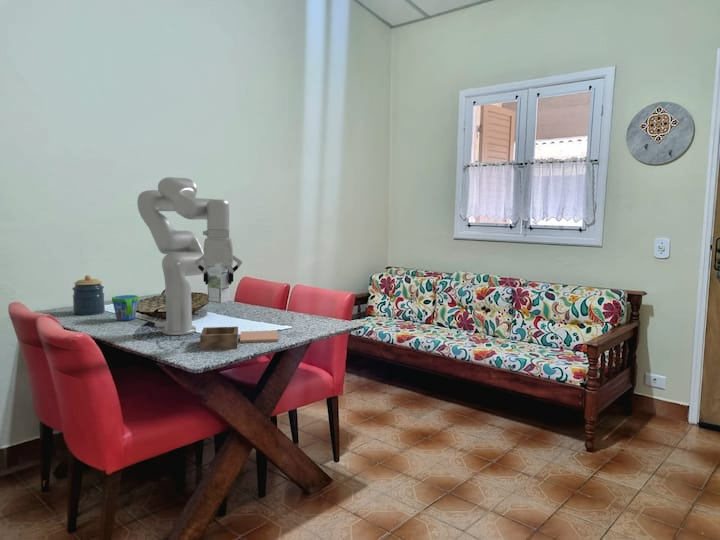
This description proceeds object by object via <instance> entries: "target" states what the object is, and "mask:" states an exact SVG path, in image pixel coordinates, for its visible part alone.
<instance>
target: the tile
mask: <svg viewBox="0 0 720 540" xmlns="http://www.w3.org/2000/svg"><path fill="white" fill-rule="evenodd" d="M241 342H242V343H241ZM245 342H253V343H273V342H274V343H275V342H279V334H278V330H275V329H273V330H246V331H243V330H242V331H240V337H239V343H240V344H246V343H245Z"/></svg>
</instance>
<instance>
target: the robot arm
mask: <svg viewBox="0 0 720 540" xmlns="http://www.w3.org/2000/svg"><path fill="white" fill-rule="evenodd" d="M197 188H198V187H197V185H196V183H195V181H193V180H192V179H190V178H187V177H172V176H171V177H169V176H168V177H164V178H163V179H161V180H160V181H159V182H158V184H157V189H149V190H148V189H147V190H144V191H142V192H141V193H139V195H138V197H137V200H136V201H137V210H138V213H139V215H140V217H141V219H142V221H144V223H145V225H146V226H147V228H148V230H149V231H150V234H151V236H152V238H153V241H154V242H155V245H156V247H157V249H158V251H159V252H160V253H161V254H163V255H165V256H163V258H162V260H161V267H162V271H163V276H164V278H163V279H164V286H165V287H164V289H165V312H166V313H165V316H166V318H165V319H166V320H165V321H164V320H163V322H160V321H155V322H154V327H155V328H157V329H161V328H162V329H161V330H162V331H161V332H162V334H164V335H168V336H184V335H189V334H193V333H196V331H197V327H195V326H193V325H192V324H193V321H192V320H193V318H192V315H193V311H192V287H191V284H190V282H189V281H188V280H187V278H186V277H188V276H189V277H190V276H200V275H203V282H204V284H205V285H207V286H208V268H209V267H214V266H215V264H216V263H223V267H228V269H229V285H232V283H233V282H234V273H235V272H236V271H237V270H238V269H239V268H240V266H241V265H242V264H243V260H240V259H239V258H238V257H237V256H235V255H234V248H233V241H232V238H230V202H229V201H228V200H226V199H217V198H216V199H215V198H201V197H197V196H196V195H197V193H198V189H197ZM196 197H197V198H196ZM161 212H175V213H176V214H177V215H179V216H181V217H183V218H185V219H187V220H194V221H195V220H204V221H206V223H207V224H206V230H203V231H202V235H203V236H206V237H205V238H204V242H203V247H202V246H201V243H200V241H199V239H198V238H197V236H196V234H195V233H193V232H192V231H190V230H176V229H174V226H173V224H172V223H171V221H170V220H169V219H168V217H166V216H165V214H163V213H161ZM234 261H235V262H236V265H235V266H234V267H233V264H234Z"/></svg>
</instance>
